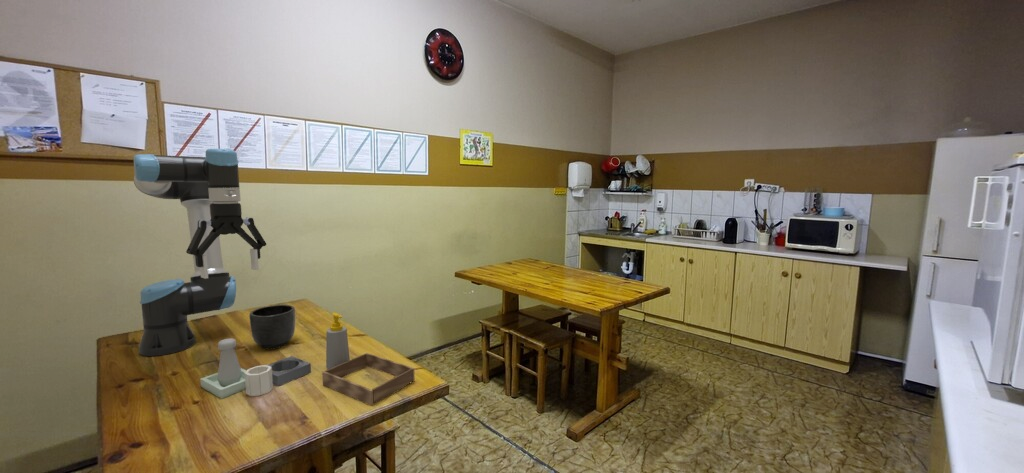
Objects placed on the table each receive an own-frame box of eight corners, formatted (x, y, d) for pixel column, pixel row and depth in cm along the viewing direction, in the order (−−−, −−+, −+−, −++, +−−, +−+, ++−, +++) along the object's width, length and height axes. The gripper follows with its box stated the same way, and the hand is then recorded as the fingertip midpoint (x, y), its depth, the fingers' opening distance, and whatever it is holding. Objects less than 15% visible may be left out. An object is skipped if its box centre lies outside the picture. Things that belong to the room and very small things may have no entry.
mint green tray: (201, 387, 114) (200, 378, 114) (237, 373, 122) (237, 366, 122) (221, 398, 108) (220, 390, 107) (258, 384, 116) (258, 375, 116)
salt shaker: (229, 389, 111) (225, 344, 110) (212, 387, 113) (208, 343, 111) (247, 379, 117) (244, 337, 115) (231, 377, 118) (227, 335, 117)
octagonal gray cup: (242, 392, 111) (241, 371, 111) (265, 383, 116) (263, 363, 116) (254, 398, 108) (252, 377, 107) (276, 388, 113) (275, 368, 113)
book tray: (322, 385, 116) (322, 371, 115) (367, 364, 129) (367, 352, 128) (371, 405, 105) (371, 391, 105) (414, 381, 118) (414, 368, 118)
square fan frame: (259, 377, 120) (258, 367, 119) (292, 364, 128) (291, 355, 128) (278, 386, 115) (277, 375, 114) (311, 372, 123) (310, 362, 123)
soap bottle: (332, 376, 121) (329, 319, 119) (322, 369, 126) (319, 313, 123) (354, 368, 126) (352, 313, 124) (344, 362, 131) (341, 309, 128)
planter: (300, 336, 153) (298, 303, 151) (292, 350, 140) (290, 314, 138) (258, 340, 148) (255, 306, 147) (246, 355, 135) (243, 318, 134)
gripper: (179, 204, 105) (186, 283, 108) (275, 201, 126) (279, 267, 129) (167, 203, 109) (174, 279, 111) (262, 201, 130) (267, 265, 133)
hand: (231, 273), depth 120 cm, fingers open, 13 cm apart
